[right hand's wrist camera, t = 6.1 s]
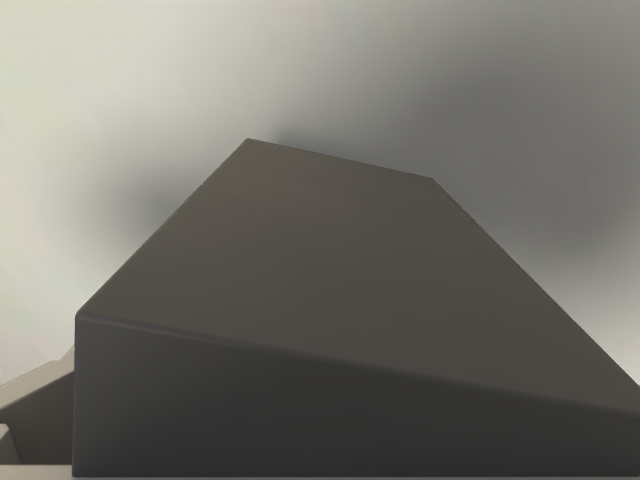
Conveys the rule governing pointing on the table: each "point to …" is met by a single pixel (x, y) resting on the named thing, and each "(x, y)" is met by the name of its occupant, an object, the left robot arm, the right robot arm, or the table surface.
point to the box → (337, 341)
